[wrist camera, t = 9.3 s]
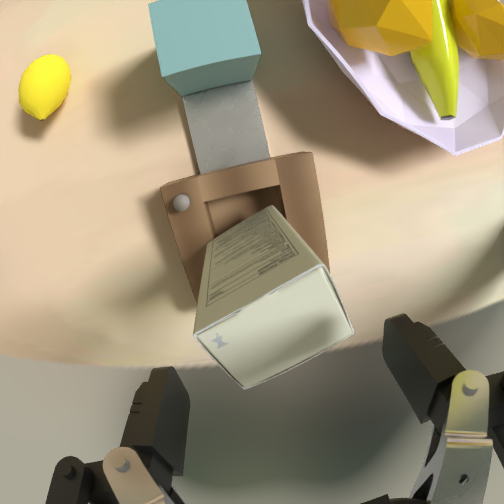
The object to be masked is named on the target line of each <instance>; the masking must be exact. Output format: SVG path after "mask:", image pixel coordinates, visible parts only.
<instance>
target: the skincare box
mask: <svg viewBox="0 0 504 504" xmlns="http://www.w3.org/2000/svg"><path fill="white" fill-rule="evenodd" d="M353 334H354V329H353V326H352V324H351V321H350V319H349V316H348V314H347V311H346V308H345V306H344V304H343V301H342V299H341V297H340V295H339V292H338V290H337V288H336V286H335V283H334V281H333V279H332V277H331V275H330V273H329V271H328V269H327V267H326V265H325V264H324V263H323V262H322V261H321V260H320V259H319V257H318V256H317V255H316V254H315V253H314V252H313V250H312V249H311V248H310V247H309V246H308V245H307V243H306V242H305V241H304V240H303V239H302V238H301V236H300V235H299V234H298V233H297V232H296V231H295V229H294V228H293V227H292V226H291V225H290V224H289V223H288V221H287V220H286V219H285V218H284V217H283V216H282V214H281V213H280V212H279V211H278V210H277V209H276V208H275V207H274V206H273V205H271V206H268V207H267V208H265V209H263V210H261V211H259V212H257V213H256V214H254V215H252V216H250V217H249V218H247V219H245V220H243V221H242V222H240V223H239V224H237V225H235V226H234V227H232V228H230V229H229V230H227V231H226V232H224V233H222V234H221V235H219V236H218V237H216V238H215V239H213V240H212V241H210V242H209V243H208V244H207V248H206V254H205V260H204V266H203V272H202V278H201V284H200V291H199V297H198V304H197V311H196V317H195V324H194V331H193V337H194V338H195V339H196V340H197V341H198V343H199V344H200V345H201V346H202V347H203V348H204V350H205V351H206V352H207V353H208V354H209V355H210V356H211V357H212V359H213V360H214V361H215V362H216V363H217V364H218V365H219V366H220V367H221V368H222V369H223V370H224V371H225V372H226V373H227V374H228V375H229V376H230V377H231V378H232V379H233V380H234V381H235V382H236V383H238V385H240V387H242V388H243V389H248V388H251V387H253V386H256V385H258V384H261V383H263V382H265V381H268V380H270V379H272V378H274V377H276V376H279V375H281V374H283V373H285V372H287V371H289V370H291V369H293V368H295V367H297V366H299V365H301V364H302V363H305V362H307V361H308V360H310V359H312V358H314V357H316V356H318V355H319V354H321V353H323V352H325V351H327V350H328V349H330V348H332V347H333V346H335V345H337V344H338V343H340V342H341V341H343V340H345V339H346V338H348V337H350V336H351V335H353Z"/></svg>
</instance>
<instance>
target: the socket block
mask: <svg viewBox="0 0 504 504" xmlns="http://www.w3.org/2000/svg"><path fill="white" fill-rule="evenodd" d="M160 189H161V193H162V196H163V200H164V203H165V207H166V210H167V214H168V217H169V220H170V224H171V227H172V230H173V234H174V237H175V240H176V243H177V246H178V249H179V253H180V256H181V259H182V262H183V265H184V268H185V271H186V274H187V277H188V280H189V283H190V285H191V288H192V291H193V294H194V297H195V300H196V302H197V304H198V297H199V291H200V284H201V278H202V272H203V266H204V260H205V254H206V248H207V244H208V243H209V242H210V241H212V240H213V239H215V238H216V237H218V236H219V235H221V234H222V233H224V232H226V231H227V230H229V229H230V228H232V227H234V226H235V225H237V224H239V223H240V222H242V221H243V220H245V219H247V218H249V217H250V216H252V215H254V214H256V213H257V212H259V211H261V210H263V209H265V208H267V207H268V206H271V205H273V206H274V207H275V208H276V209H277V210H278V211H279V212H280V213H281V214H282V216H283V217H284V218H285V219H286V220H287V221H288V223H289V224H290V225H291V226H292V227H293V228H294V229H295V231H296V232H297V233H298V234H299V235H300V236H301V238H302V239H303V240H304V241H305V242H306V243H307V245H308V246H309V247H310V248H311V249H312V250H313V252H314V253H315V254H316V255H317V256H318V257H319V259H320V260H321V261H322V262H323V263H324V264H325V265H326V267H327V269H328V271H329V273H330V268H329V259H328V250H327V242H326V234H325V227H324V220H323V213H322V206H321V199H320V193H319V187H318V181H317V175H316V169H315V164H314V158H313V153H312V152H298V153H292V154H287V155H281V156H276V157H271V158H268V159H263V160H258V161H254V162H249V163H245V164H240V165H236V166H231V167H227V168H223V169H219V170H215V171H211V172H207V173H203V174H198V175H194V176H190V177H187V178H183V179H179V180H176V181H172V182H169V183H167V184H165V185H163V186H162V187H160Z"/></svg>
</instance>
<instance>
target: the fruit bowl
mask: <svg viewBox="0 0 504 504" xmlns="http://www.w3.org/2000/svg"><path fill="white" fill-rule="evenodd" d="M302 3H303V7H304V11H305V15H306V19H307V23H308V26H309V27H310V28H311V29H312V31H313V32H314V33H315V35H316V36H317V37H318V38H319V40H320V41H321V42H322V44H323V45H324V47H325V48H326V49H327V51H328V52H329V53H330V55H331V56H332V58H333V59H334V61H335V62H336V64H337V65H338V66H339V68H340V69H341V71H342V72H343V73H344V74H345V75H346V76H347V77H348V78H349V79H350V80H351V81H352V82H353V84H354V85H355V86H356V87H357V88H358V89H359V90H360V91H361V92H362V94H363V95H364V96H365V97H366V98H367V99H368V100H369V102H370V103H371V104H372V105H373V106H374V108H375V109H376V110H377V111H378V112H379V114H380V115H382V116H384V117H385V118H387V119H389V120H391V121H393V122H395V123H396V124H398V125H400V126H402V127H403V128H405V129H407V130H409V131H411V132H413V133H415V134H417V135H419V136H421V137H423V138H425V139H427V140H428V141H430V142H432V143H434V144H436V145H437V146H439V147H441V148H443V149H444V150H446V151H448V152H450V153H451V154H453V155H455V156H456V155H459V154H462V153H465V152H467V151H470V150H473V149H476V148H478V147H481V146H484V145H487V144H490V143H492V142H495V141H498V140H501V139H502V137H503V134H504V5H503V4H502V3H500V2H499V1H498V0H302Z"/></svg>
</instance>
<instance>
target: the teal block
mask: <svg viewBox="0 0 504 504" xmlns="http://www.w3.org/2000/svg"><path fill="white" fill-rule="evenodd" d="M148 5H149V11H150V17H151V23H152V29H153V34H154V40H155V45H156V50H157V56H158V61H159V66H160V71H161V75H162V78H163V79H164V80H165V81H166V82H167V83H168V84H169V85H171V86H172V87H173V88H174V89H175V90H176V91H177V92H178V93H179V94H180V95H181V96H184V95H187V94H191V93H195V92H198V91H202V90H206V89H210V88H214V87H219V86H223V85H228V84H232V83H237V82H242V81H248V80H253V77H254V74H255V71H256V68H257V66H258V63H259V60H260V57H261V50H260V46H259V43H258V39H257V35H256V32H255V28H254V25H253V21H252V18H251V14H250V11H249V8H248V4H247V1H246V0H159V1H156V2H152V3H149V4H148Z"/></svg>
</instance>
